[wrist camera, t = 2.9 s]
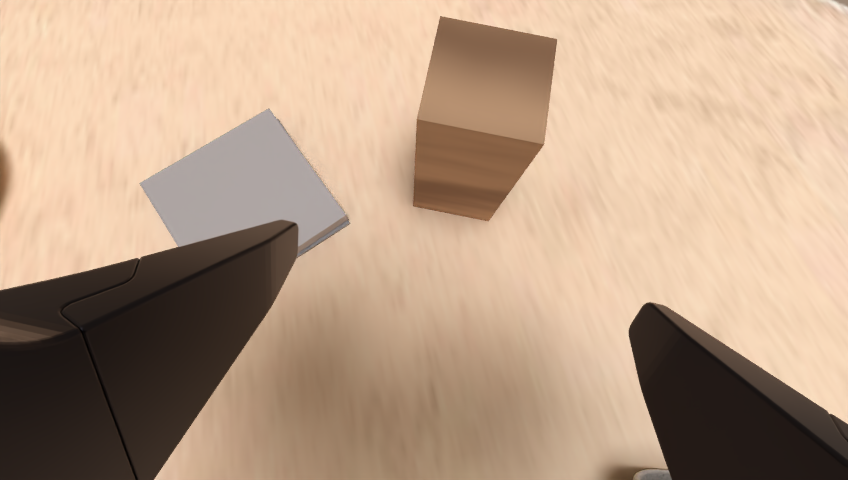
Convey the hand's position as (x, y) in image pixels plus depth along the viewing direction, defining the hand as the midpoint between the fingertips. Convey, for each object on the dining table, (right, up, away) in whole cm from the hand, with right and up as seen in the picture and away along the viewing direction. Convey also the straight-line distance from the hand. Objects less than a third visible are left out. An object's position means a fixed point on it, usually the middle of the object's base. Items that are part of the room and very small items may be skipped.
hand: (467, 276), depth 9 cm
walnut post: (+1, +5, +15) cm, 16 cm away
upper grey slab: (-12, +3, +14) cm, 19 cm away
